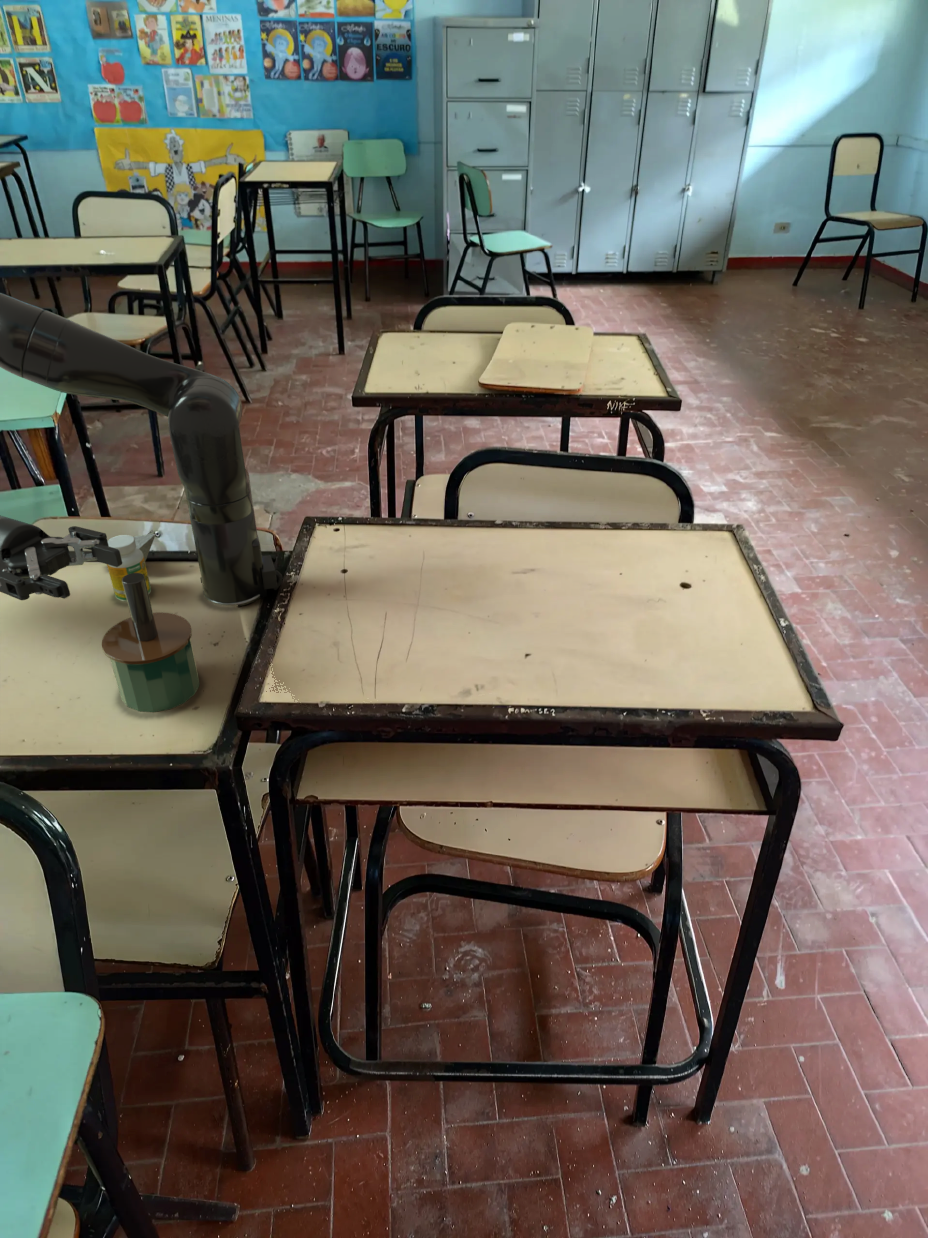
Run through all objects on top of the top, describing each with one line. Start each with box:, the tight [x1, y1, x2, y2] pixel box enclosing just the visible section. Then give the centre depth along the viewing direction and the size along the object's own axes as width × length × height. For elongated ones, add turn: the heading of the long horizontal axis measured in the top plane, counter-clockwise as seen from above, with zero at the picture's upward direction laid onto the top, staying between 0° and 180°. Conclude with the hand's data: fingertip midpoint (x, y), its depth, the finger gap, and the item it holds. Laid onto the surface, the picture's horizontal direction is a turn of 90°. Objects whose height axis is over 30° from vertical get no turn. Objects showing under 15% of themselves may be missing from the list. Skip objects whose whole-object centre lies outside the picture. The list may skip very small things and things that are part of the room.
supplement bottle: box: [106, 534, 152, 602], centre depth 129 cm, size 5×5×10 cm
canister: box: [109, 638, 200, 713], centre depth 110 cm, size 10×10×8 cm
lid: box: [101, 573, 193, 664], centre depth 105 cm, size 11×11×10 cm
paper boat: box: [131, 529, 157, 562], centre depth 138 cm, size 12×6×9 cm
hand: (93, 574), depth 106 cm, fingers open, 8 cm apart
